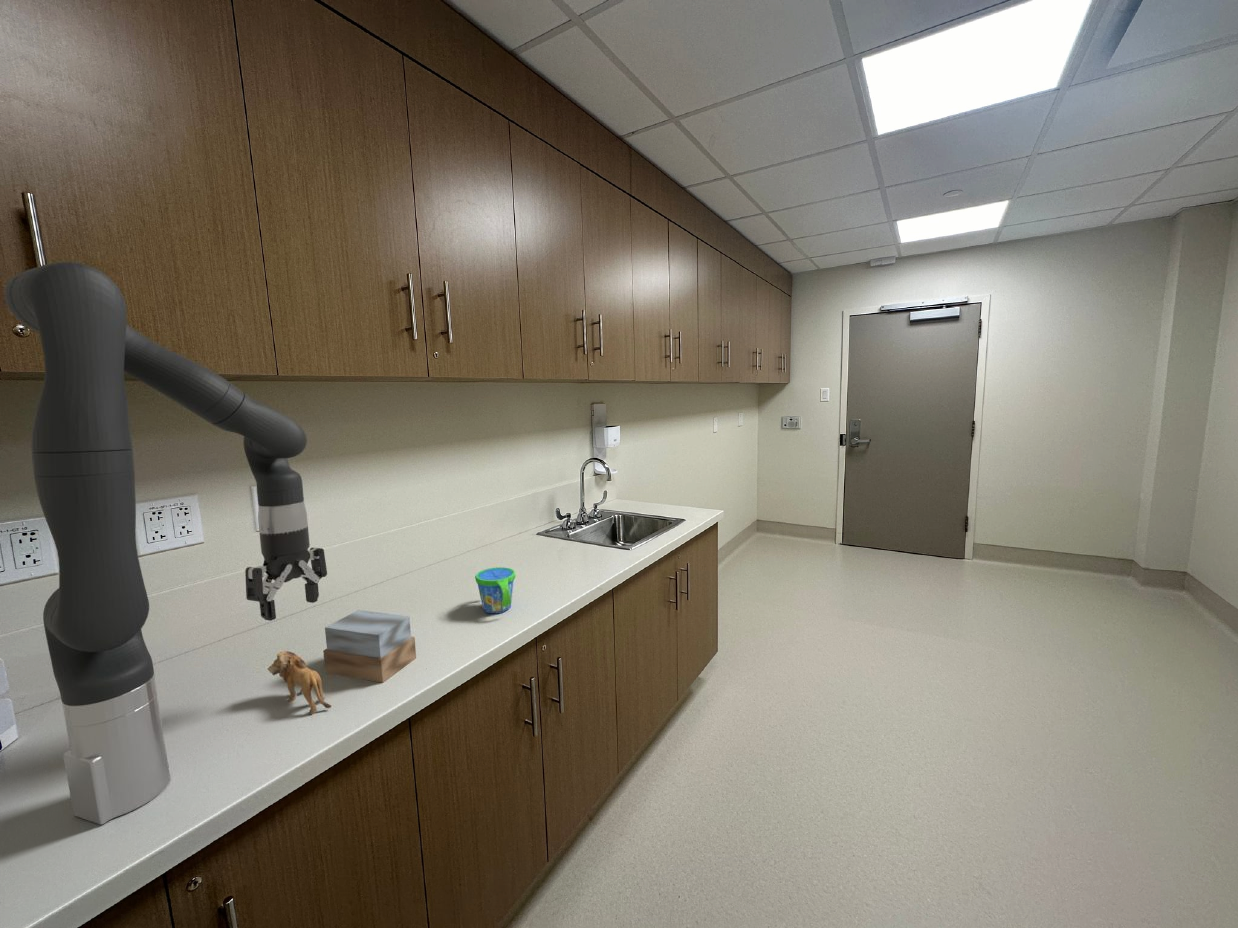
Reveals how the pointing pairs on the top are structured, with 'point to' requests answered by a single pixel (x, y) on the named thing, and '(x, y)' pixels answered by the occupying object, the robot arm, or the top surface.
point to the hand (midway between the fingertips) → (292, 610)
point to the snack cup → (496, 588)
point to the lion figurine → (298, 678)
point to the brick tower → (369, 645)
